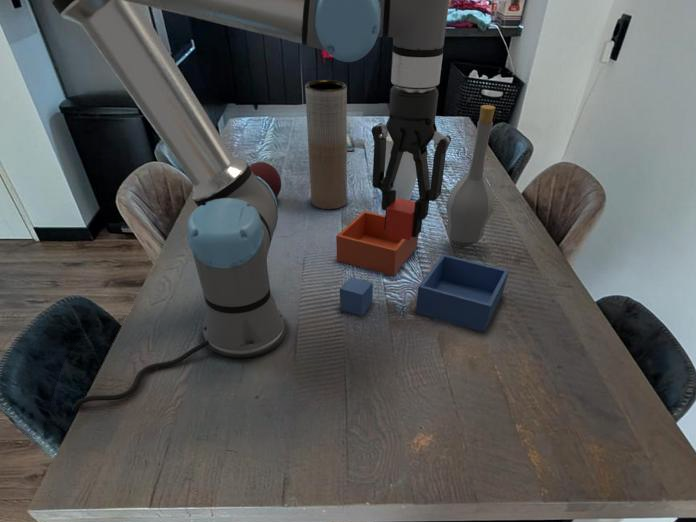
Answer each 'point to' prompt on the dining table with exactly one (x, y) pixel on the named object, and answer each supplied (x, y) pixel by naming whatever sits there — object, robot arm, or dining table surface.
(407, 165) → the cup
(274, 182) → the decorative ball
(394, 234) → the red block
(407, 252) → the red bin
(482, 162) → the bottle
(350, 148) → the smartphone
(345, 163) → the vase
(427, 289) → the blue bin
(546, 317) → the dining table surface
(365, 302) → the blue block
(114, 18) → the robot arm
